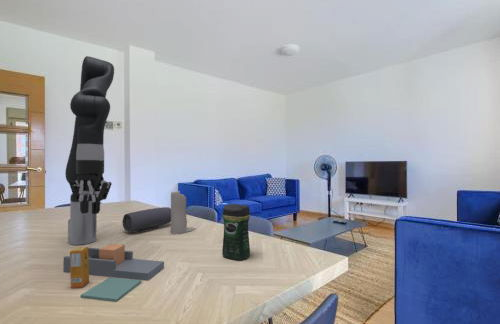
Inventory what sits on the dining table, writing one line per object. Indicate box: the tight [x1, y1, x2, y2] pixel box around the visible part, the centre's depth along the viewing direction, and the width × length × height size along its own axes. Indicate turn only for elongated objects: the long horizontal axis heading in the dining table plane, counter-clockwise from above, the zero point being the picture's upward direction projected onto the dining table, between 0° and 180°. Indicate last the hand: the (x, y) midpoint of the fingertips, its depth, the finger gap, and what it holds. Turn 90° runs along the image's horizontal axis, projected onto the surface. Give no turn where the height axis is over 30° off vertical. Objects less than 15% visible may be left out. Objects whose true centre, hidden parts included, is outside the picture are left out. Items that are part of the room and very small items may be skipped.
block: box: [99, 243, 126, 265], centre depth 80 cm, size 5×5×5 cm
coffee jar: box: [221, 203, 251, 261], centre depth 92 cm, size 10×8×19 cm
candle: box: [170, 190, 197, 235], centre depth 126 cm, size 7×14×20 cm, turn 148°
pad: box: [80, 277, 142, 303], centre depth 68 cm, size 10×10×1 cm
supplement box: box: [69, 246, 90, 289], centre depth 70 cm, size 3×3×10 cm
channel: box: [63, 247, 165, 281], centre depth 80 cm, size 28×9×4 cm, turn 80°
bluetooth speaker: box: [122, 206, 171, 233], centre depth 128 cm, size 23×9×10 cm, turn 144°
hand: (90, 213), depth 81 cm, fingers open, 3 cm apart
